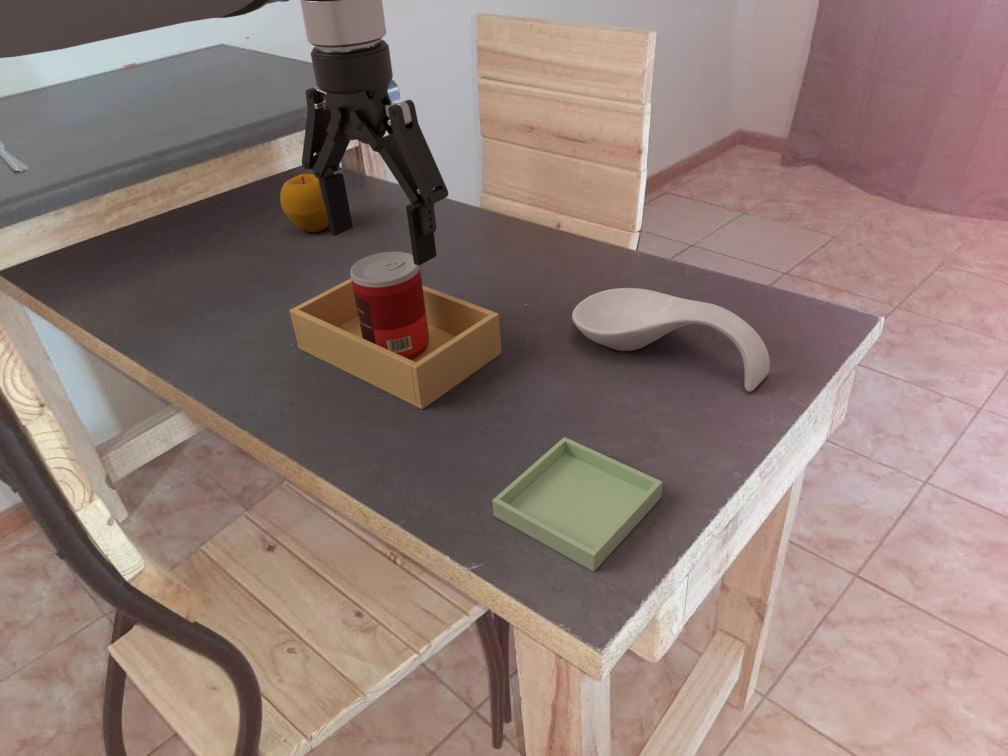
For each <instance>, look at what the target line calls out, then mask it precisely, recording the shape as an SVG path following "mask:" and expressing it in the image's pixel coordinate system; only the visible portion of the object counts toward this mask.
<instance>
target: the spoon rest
mask: <svg viewBox="0 0 1008 756" xmlns="http://www.w3.org/2000/svg"><path fill="white" fill-rule="evenodd" d="M571 318H572V319H571V320H572V322H573V324H574V325H575V327H576V328H577V329H578V330H579V331H580V333H582V335H583V336H585V337H586V338H587V339H589V340H590V341H592V342H594V343H596V344H599V345H601V346H605V347H607V348H609V349H612V350H615V351H621V352H632V351H636V350H641V349H643V348H644V347H646V346H648V345H650V344H652V343H654V342H656V341H657V340H659V339H660V338H662V337H664V336H665V335H667V334H669V333H671V332H672V331H675V330H676V329H680V328H681V327H685V326H691V325H699V326H700V325H701V326H706V327H709V328H712V329H713V330H716V331H718V332H720V333H721V334H722V335H724V336H725V337H727V338H728V339H729V340H731V342H732V343H733V344H734V346H735V347H736V348H737V350H738V351H739V353H740V356H741V357H742V361H743V368H744V370H743V371H744V389H745V391H747V392H749V393H750V392H753V391H754V390H755V389H756V388H757V387H758V386H759V385H760V384H761V383H762V382H763V381H764V380H765V378H766V377H767V376H768V374H769V373H770V369H771V362H770V355H769V351H768V348H767V346H766V344H765V342H764V340H763V339H762V337H761V336H760V335H759V333H758V332H757V331H756V330H755V329H754V328H753V327H752V326H751V325H750V324H749V323H748V322H747V321H745V320H744V319H743V318H742V317H740V316H739V315H737V314H735V313H733V312H732V311H731V310H728V309H727V308H725V307H722V306H720V305H717V304H713V303H710V302H705V301H699V300H692V299H688V298H683V297H679V296H675V295H671V294H667V293H662V292H660V291H656V290H651V289H646V288H637V287H619V288H611V289H606V290H603V291H599V292H596V293H594V294H591V295H589V296H587V297H586V298H585V299H583V300H582V301H580V302H579V303H578V304H577V305H576V306H575V308H574V309H573V311H572V313H571Z"/></svg>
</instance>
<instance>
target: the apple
mask: <svg viewBox="0 0 1008 756" xmlns="http://www.w3.org/2000/svg"><path fill="white" fill-rule="evenodd" d="M279 200H280V207H281V208H282V211H283V213H284V214H285V215H286V217H287V219H288V220H290V222H291V223H292V224H293V225H294V226H295V227H296V228H298V229H299V230H301V231H303V232H307V233H319V232H322V231H323V230H325V229H327V227H329V222H328V217H327V212H326V207H325V203H324V201H323V199H322V194H321V189H320V185H319V180H318V178H316V177H315V175H314V173H301V174H298V175H296V176H293V177H292V178H290V179H288V180H287V181H285V182H284V183H283V185H282V187H281V188H280V195H279Z"/></svg>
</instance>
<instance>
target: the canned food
mask: <svg viewBox="0 0 1008 756" xmlns="http://www.w3.org/2000/svg"><path fill="white" fill-rule="evenodd" d="M350 279H351V281H352V287H353V292H354V297H355V302H356V307H357V312H358V317H359V322H360V328H361V333H362V338H363V339H365V340H367V341H369V342H372V343H374V344H376V345H378V346H381V347H383V348H385V349H387V350H389V351H392V352H394V353H396V354H398V355H401V356H403V357H405V358H407V359H409V360H411V359H414V358H416V357H417V356H419V355H420V354H422V353H423V352H424V351H425V349H426V348H427V346H428V341H429V333H428V325H427V317H426V309H425V301H424V294H423V286H424V285H423V279H422V273H421V265H420V266H418V265H415V264H414V260H413V254H411V253H408V252H404V251H383V252H377V253H374V254H371V255H367V256H365V257H362V258H361V259H359V260H357V261H356V262H355V263H354V264H353V265H352V266H351V268H350ZM422 285H423V286H422Z"/></svg>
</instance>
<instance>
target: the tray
mask: <svg viewBox="0 0 1008 756" xmlns="http://www.w3.org/2000/svg"><path fill="white" fill-rule="evenodd" d="M662 494H663V481H662V480H660V479H658V478H656V477H653V476H651V475H649V474H646V473H645V472H642V471H640V470H638V469H636V468H634V467H631V466H629V465H627V464H624V463H623V462H620V461H619V460H616V459H614V458H612V457H609V456H607V455H605V454H603V453H600V452H598V451H596V450H594V449H592V448H590V447H587V446H586V445H583V444H581V443H579V442H577V441H574V440H572V439H570V438H568V437H565V436H564V437H562V438H561V439H560V440H558V442H556V443H555V445H553V446H552V447H551V448H549V449H548V450H547V451H546V452H545V453H544V454H543V455H542V456H541V457H540V458H539V459H538V460H536V461H535V462H534V463H532V465H531V466H529V467H528V468H527V469H525V471H523V472H522V473H521V474H520V475H518V477H516V478H515V480H513V481H512V482H511V483H509V485H507V487H505V488H504V489H503V490H502V491H500V492H499V493H498V494H497V496H496V497H494V498H493V499H492V500H491V501H492V503H491V504H492V513H493V517H494V518H496V519H498V520H500V521H502V522H504V523H506V524H507V525H509V526H511V527H512V528H514V529H516V530H518V531H520V532H522V533H523V534H525V535H527V536H529V537H531V539H534V540H536V541H538V542H539V543H541V544H543V545H545V546H546V547H548V548H550V549H552V550H554V551H556V552H557V553H559V554H561V555H563V556H564V557H566V558H568V559H570V560H571V561H573V562H575V563H577V564H579V565H580V566H582V567H584V568H586V569H588V570H590V571H591V572H594V573H595V571H596V570H597V569H598V568H599V567H600V566H601V565H602V564H603V563H604V562H605V560H607V558H608V557H609V556H610V555H611V554H612V553H613V552H614V551H615V549H616V548H617V547H618V546H619V545H620V544H621V543H622V542H623V540H625V538H626V537H627V536H628V535H629V534H630V533H631V532H632V531H633V530H634V528H636V526H637V525H638V524H640V522H642V520H643V519H644V518H645V516H647V514H648V513H649V512H650V511H651V510H652V509H653V507H655V505H656V504H657V503H658V502H659V501H660V500H661V499H662Z"/></svg>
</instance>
